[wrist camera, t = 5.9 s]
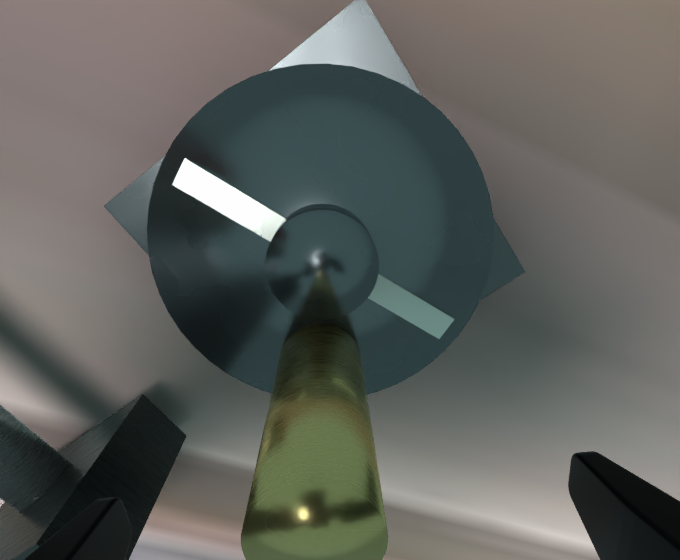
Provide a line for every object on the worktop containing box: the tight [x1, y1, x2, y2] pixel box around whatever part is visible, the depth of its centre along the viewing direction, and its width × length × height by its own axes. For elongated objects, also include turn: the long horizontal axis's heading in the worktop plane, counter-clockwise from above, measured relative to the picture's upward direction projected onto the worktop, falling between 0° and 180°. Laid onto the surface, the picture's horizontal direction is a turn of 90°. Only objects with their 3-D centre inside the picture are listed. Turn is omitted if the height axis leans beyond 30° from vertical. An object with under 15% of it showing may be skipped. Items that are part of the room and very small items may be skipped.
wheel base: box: [104, 0, 525, 300], centre depth 14 cm, size 10×10×1 cm
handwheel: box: [147, 63, 494, 560], centre depth 10 cm, size 10×10×8 cm
